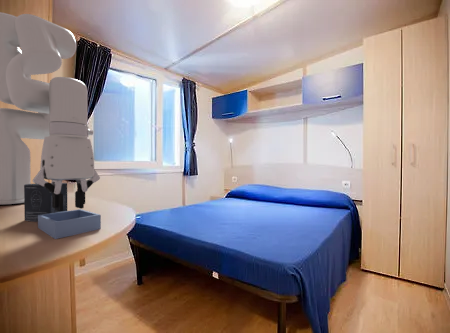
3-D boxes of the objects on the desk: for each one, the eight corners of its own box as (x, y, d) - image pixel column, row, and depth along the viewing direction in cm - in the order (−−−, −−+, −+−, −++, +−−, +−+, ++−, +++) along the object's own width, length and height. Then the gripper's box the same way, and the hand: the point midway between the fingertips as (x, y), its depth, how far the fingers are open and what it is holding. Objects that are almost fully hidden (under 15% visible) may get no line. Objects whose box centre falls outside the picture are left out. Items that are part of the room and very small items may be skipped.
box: (68, 220, 64) (68, 182, 64) (49, 226, 58) (49, 184, 58) (44, 219, 65) (43, 182, 65) (23, 224, 60) (23, 183, 60)
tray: (38, 229, 55) (37, 215, 55) (80, 222, 62) (80, 209, 62) (55, 239, 48) (55, 222, 48) (100, 229, 56) (100, 214, 56)
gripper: (97, 136, 64) (98, 203, 64) (19, 129, 50) (19, 213, 51) (111, 134, 59) (111, 205, 60) (29, 126, 46) (29, 217, 46)
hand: (69, 208), depth 55 cm, fingers open, 3 cm apart
